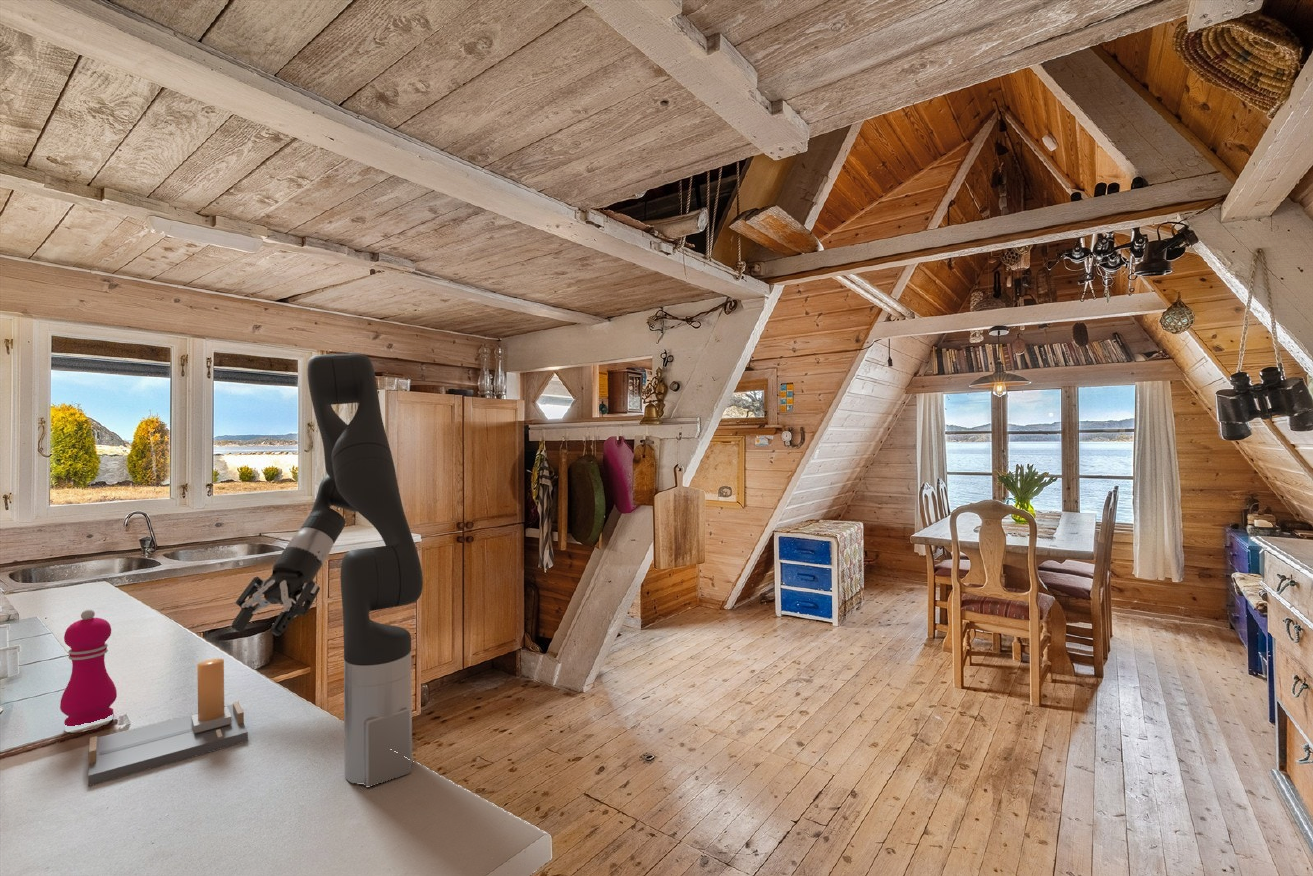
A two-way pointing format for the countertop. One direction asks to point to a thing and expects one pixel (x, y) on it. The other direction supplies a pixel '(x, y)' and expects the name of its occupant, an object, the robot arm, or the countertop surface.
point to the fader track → (159, 745)
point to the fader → (210, 697)
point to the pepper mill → (88, 672)
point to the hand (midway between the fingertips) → (255, 631)
